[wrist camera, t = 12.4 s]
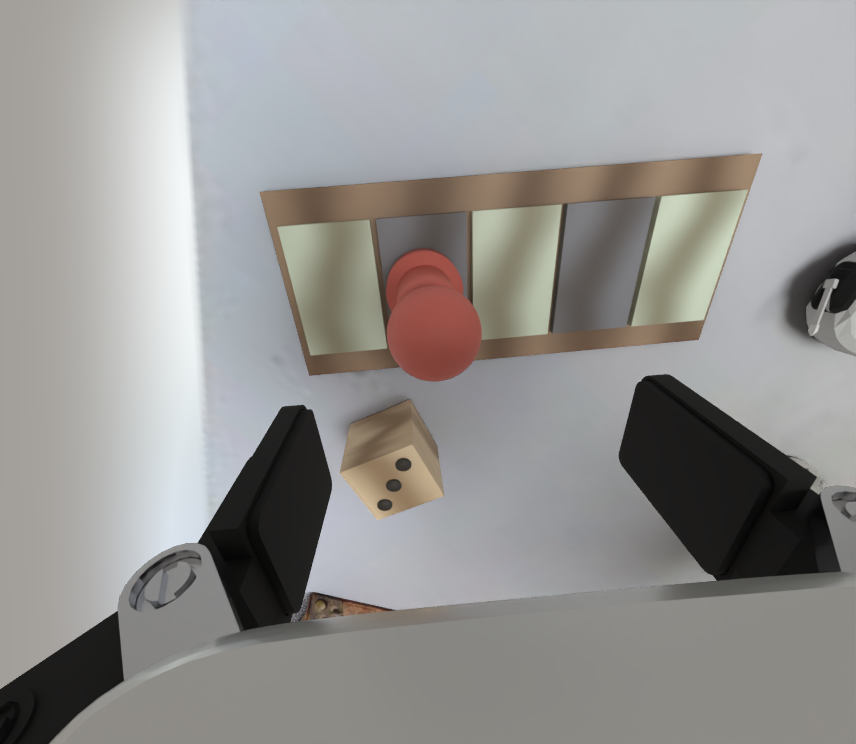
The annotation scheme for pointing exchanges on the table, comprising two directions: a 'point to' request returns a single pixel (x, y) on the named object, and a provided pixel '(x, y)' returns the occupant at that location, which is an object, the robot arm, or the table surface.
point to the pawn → (430, 317)
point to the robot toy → (835, 308)
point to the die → (392, 461)
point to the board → (515, 255)
